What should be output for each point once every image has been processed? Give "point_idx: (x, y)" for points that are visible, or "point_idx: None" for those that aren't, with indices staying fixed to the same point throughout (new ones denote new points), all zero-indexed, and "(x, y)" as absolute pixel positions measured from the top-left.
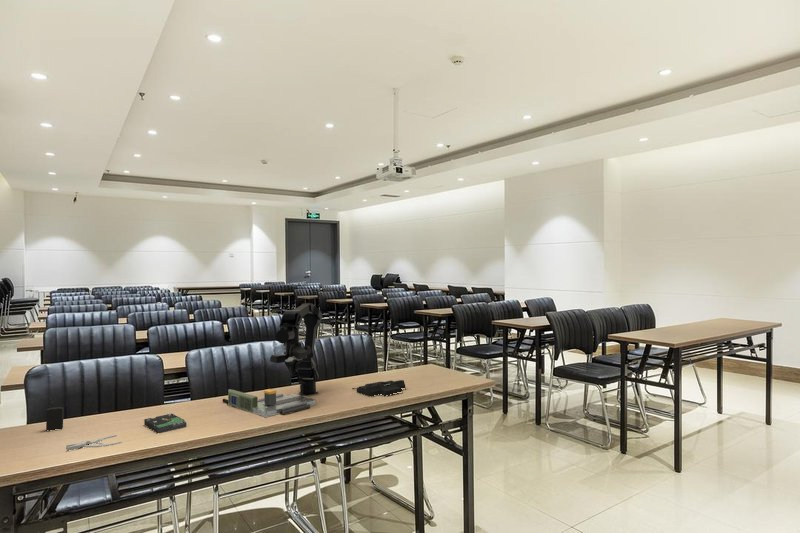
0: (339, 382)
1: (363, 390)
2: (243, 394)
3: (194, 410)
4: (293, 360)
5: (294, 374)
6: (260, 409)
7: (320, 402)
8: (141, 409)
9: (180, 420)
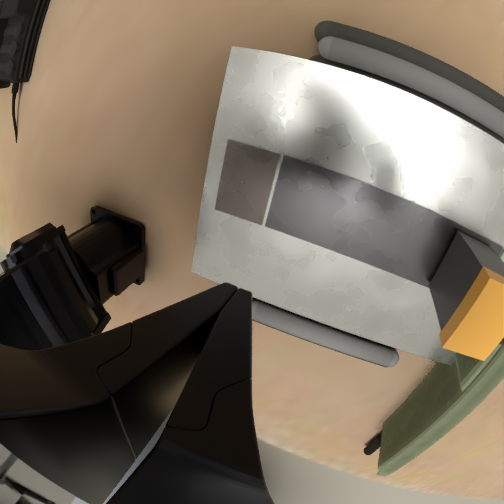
0: (13, 229)
1: (26, 34)
2: (463, 418)
3: (463, 447)
4: (76, 483)
5: (216, 289)
6: None
7: (192, 63)
8: (446, 492)
9: None
